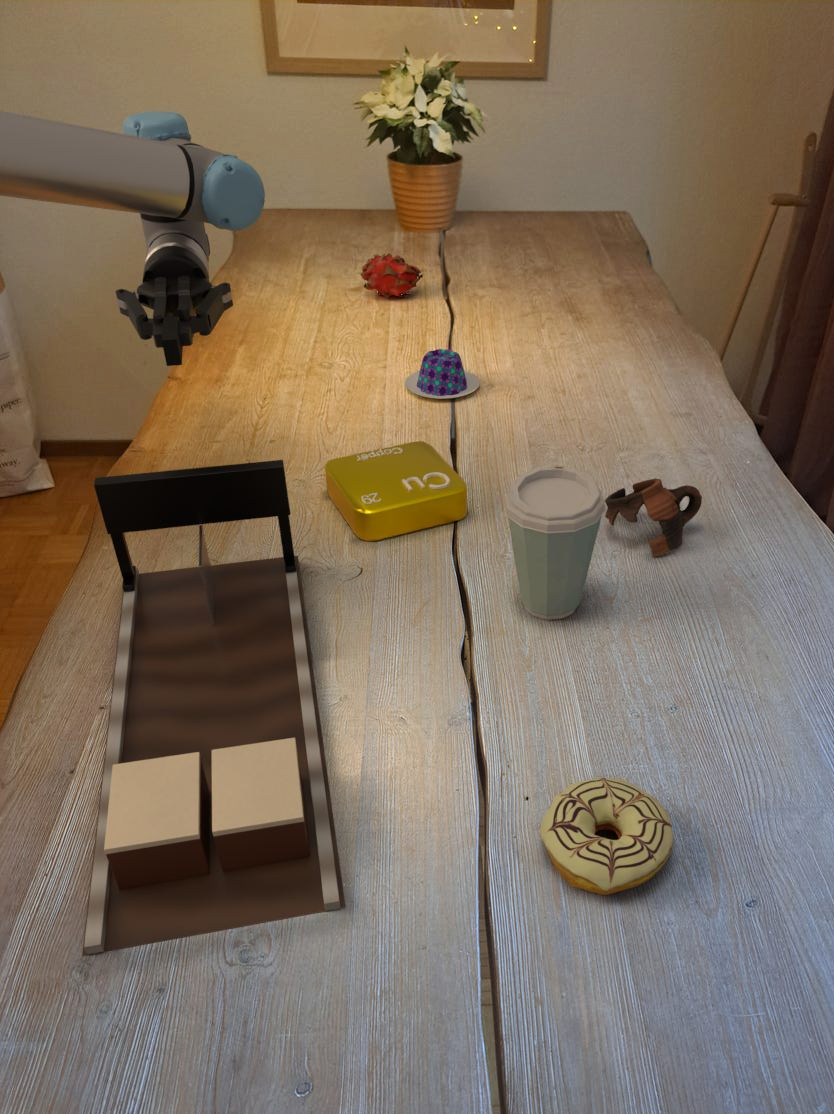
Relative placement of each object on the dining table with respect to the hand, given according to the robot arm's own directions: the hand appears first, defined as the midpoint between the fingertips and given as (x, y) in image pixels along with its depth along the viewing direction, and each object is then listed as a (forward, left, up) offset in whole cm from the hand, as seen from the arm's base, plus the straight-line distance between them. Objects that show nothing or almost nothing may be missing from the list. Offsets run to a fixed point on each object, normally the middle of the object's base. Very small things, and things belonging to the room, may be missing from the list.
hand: (171, 352), depth 95 cm
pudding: (+10, +55, -26) cm, 62 cm away
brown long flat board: (+14, -24, -26) cm, 38 cm away
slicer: (+4, -8, -24) cm, 26 cm away
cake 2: (+25, -35, -24) cm, 49 cm away
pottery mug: (+49, +22, -26) cm, 59 cm away
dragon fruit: (-13, +92, -26) cm, 97 cm away
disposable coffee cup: (+40, +4, -26) cm, 48 cm away
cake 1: (+18, -39, -24) cm, 49 cm away
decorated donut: (+53, -28, -26) cm, 65 cm away
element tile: (+16, +19, -26) cm, 36 cm away
